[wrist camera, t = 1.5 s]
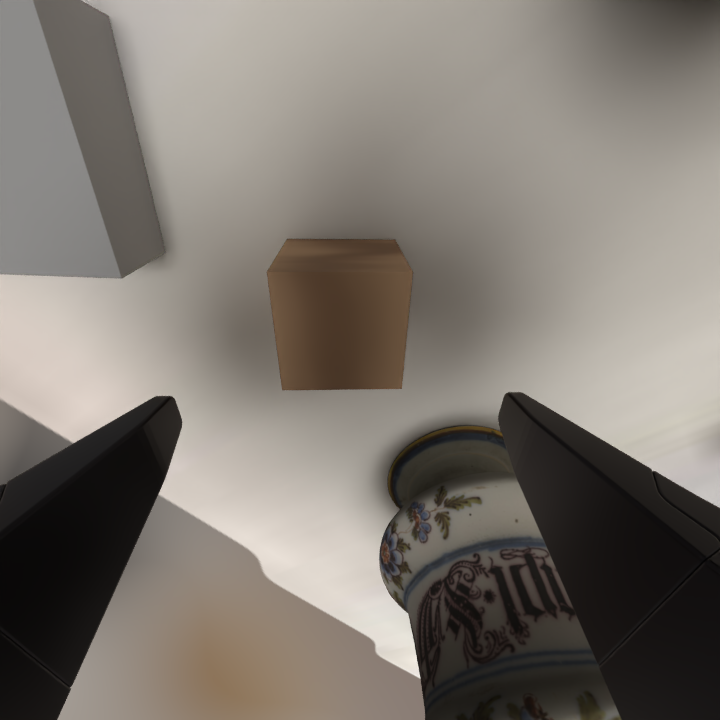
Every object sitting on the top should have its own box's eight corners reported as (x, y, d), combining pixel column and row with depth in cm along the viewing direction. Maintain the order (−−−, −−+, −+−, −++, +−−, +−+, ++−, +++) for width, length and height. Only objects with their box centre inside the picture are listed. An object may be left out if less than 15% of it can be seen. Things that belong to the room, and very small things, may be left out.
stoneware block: (113, 18, 12) (22, -32, 9) (168, 250, 16) (121, 278, 13) (-135, -1, 12) (-332, -62, 8) (-12, 243, 16) (-110, 270, 12)
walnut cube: (394, 239, 16) (412, 272, 12) (388, 333, 19) (401, 388, 15) (287, 238, 16) (266, 271, 12) (296, 334, 19) (282, 390, 14)
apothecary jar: (487, 534, 29) (646, 964, 14) (351, 512, 27) (360, 998, 12) (575, 432, 23) (1023, 987, 8) (409, 393, 21) (588, 1068, 6)
